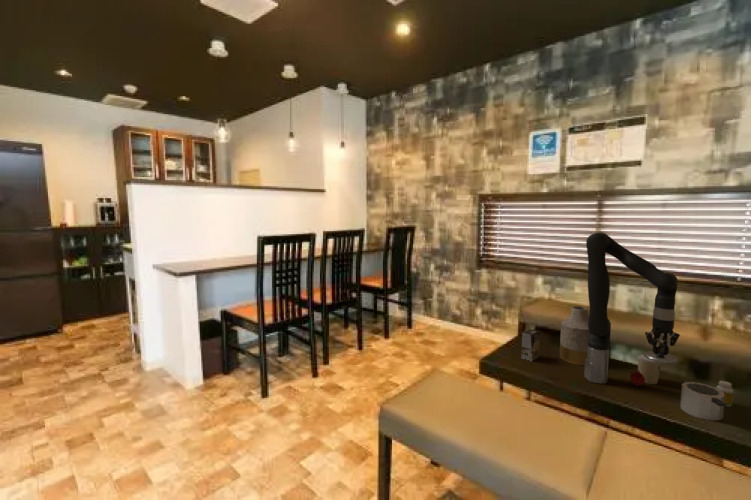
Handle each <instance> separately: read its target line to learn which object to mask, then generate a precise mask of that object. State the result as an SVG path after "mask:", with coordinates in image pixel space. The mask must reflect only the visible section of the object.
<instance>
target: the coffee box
mask: <svg viewBox="0 0 751 500" xmlns="http://www.w3.org/2000/svg"><path fill="white" fill-rule="evenodd" d="M521 337H522V338H521V358H520V359H522V360H525V359H526V360H525V361H528V360H529V362H533V361H535V360H537V359H538V358H539V352H540V351H539V348H540V345H539V344H540V331H539V330H536V329H531V328H529V329H526V330H524V331H523V332H522V336H521Z"/></svg>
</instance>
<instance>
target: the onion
mask: <svg viewBox="0 0 751 500" xmlns="http://www.w3.org/2000/svg"><path fill="white" fill-rule="evenodd" d="M629 377H630V381H631V383H633V384H634V385H635V386H636V387H639V386H642V385H644V384H645V378H644V376H643V375H642V374H641V373H640V372H639V370H638V369H637V370H635V371H633V372H632V373H631V374H630V376H629Z"/></svg>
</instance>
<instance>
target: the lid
mask: <svg viewBox="0 0 751 500" xmlns="http://www.w3.org/2000/svg"><path fill="white" fill-rule="evenodd" d="M665 346H666V343H663V341H661V343H660V344H659V354H658V355H656V354H654V352H653V350H645V351H644V352H643V354H644V356H645V357H646V358H648V359H650V360H653V361H657V362H661V364H662V363H664V364H676V363H678V360H679V359H678V357H677V356H675V355H673V354H670V353H668V355H665Z"/></svg>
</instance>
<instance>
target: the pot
mask: <svg viewBox="0 0 751 500" xmlns="http://www.w3.org/2000/svg"><path fill="white" fill-rule="evenodd" d="M680 389H681V390H680V391H681V392H680V402H679V405H680V409H681V410H682V411H684V412H685V413H686V414H687V415H691V416H693V417H695V418H698V419H702V420H706V421H711V422H712V421H713V422H714V421H715V422H716V421H717V422H718V421H721V420H722V419H724V407H727V406H726V403H724V400H725V395H724V393H723V392H722V391H720V390H719V389H717V388H716V387H714V386H711V385H708V384H705V383H702V382H696V381H689V380H681V388H680Z"/></svg>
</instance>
